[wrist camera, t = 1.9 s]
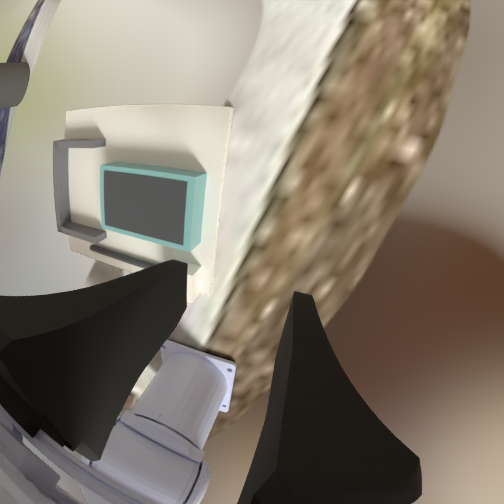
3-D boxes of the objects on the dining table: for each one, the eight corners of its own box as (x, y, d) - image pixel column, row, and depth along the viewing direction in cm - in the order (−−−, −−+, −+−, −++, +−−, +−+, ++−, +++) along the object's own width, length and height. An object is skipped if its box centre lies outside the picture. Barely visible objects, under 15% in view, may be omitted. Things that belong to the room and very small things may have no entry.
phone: (207, 172, 17) (194, 177, 15) (200, 242, 19) (189, 252, 18) (115, 161, 18) (99, 165, 17) (115, 221, 21) (100, 228, 19)
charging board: (233, 107, 16) (221, 104, 14) (212, 293, 22) (201, 308, 20) (71, 110, 18) (53, 112, 16) (74, 247, 24) (60, 256, 22)
